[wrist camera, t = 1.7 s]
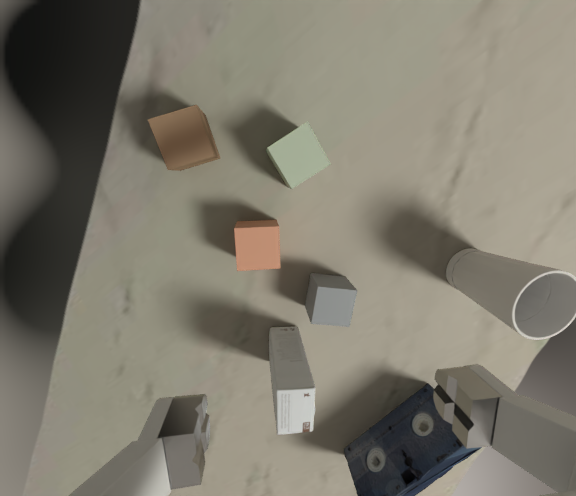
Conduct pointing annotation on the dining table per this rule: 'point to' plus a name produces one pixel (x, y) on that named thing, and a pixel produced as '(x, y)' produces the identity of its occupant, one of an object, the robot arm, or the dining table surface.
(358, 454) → the vhs cassette tape
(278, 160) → the sage cube
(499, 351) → the dining table surface
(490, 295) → the cup
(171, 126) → the walnut cube
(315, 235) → the dining table surface
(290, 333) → the skincare box
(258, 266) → the terracotta cube
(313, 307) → the slate cube
